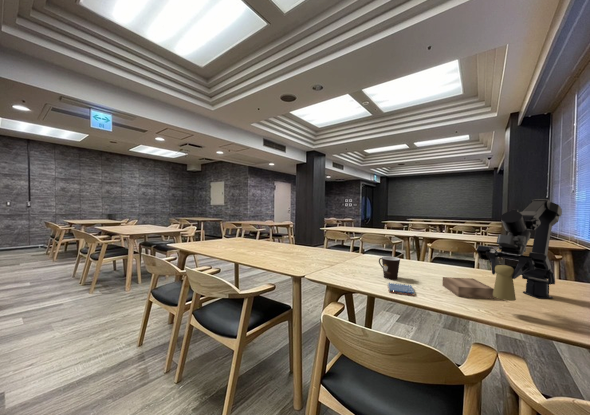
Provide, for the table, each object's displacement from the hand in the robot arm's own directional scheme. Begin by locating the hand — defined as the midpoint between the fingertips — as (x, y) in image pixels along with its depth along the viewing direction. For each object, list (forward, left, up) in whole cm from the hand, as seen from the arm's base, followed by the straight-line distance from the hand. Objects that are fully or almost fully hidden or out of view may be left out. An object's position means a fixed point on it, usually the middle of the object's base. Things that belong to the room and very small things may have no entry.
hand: (502, 276), depth 80 cm
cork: (-1, -1, -8) cm, 8 cm away
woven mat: (+25, -22, -14) cm, 36 cm away
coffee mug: (+22, -41, -13) cm, 48 cm away
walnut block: (-3, -21, -13) cm, 25 cm away
